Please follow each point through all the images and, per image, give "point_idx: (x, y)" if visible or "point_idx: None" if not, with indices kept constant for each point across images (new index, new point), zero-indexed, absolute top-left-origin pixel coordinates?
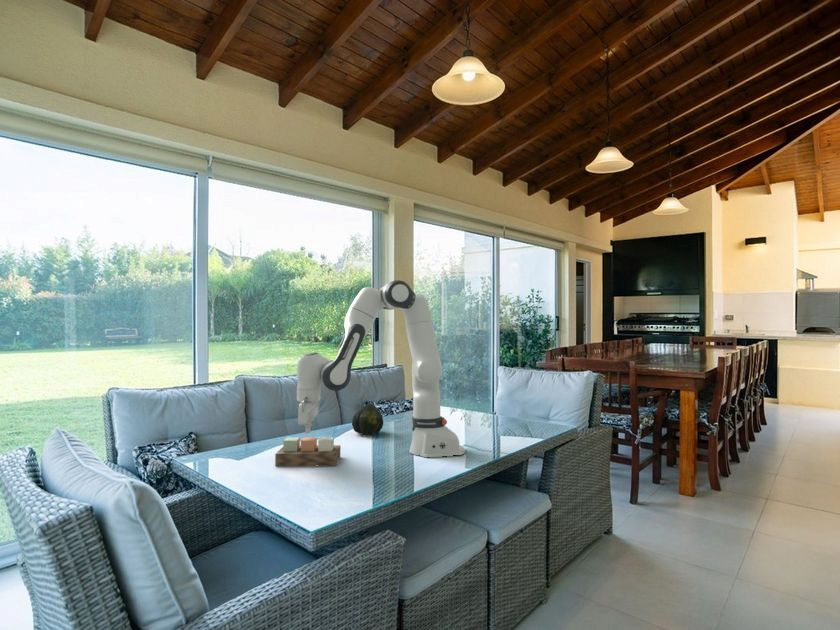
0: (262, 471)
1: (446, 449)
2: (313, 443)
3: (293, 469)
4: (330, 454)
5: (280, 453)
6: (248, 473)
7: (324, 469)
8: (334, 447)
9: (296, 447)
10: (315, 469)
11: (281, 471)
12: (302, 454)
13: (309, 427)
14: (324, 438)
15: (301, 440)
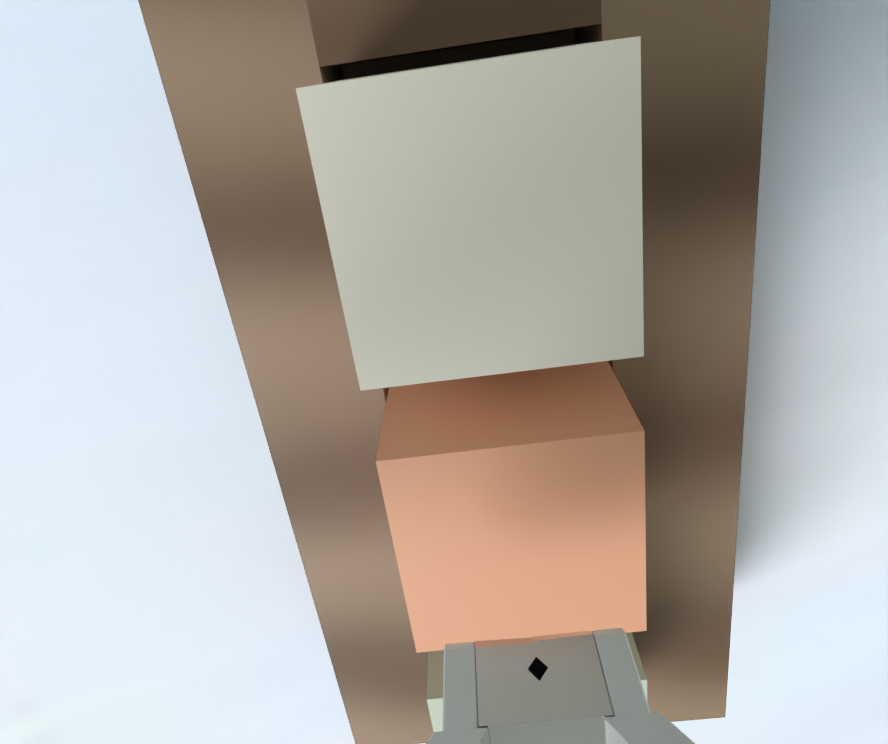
0: (836, 647)
1: None
2: (632, 413)
3: (804, 427)
4: (762, 7)
5: (709, 680)
6: (878, 714)
7: (852, 56)
8: (320, 72)
9: None
10: (836, 183)
11: (861, 509)
12: (735, 450)
13: (688, 742)
14: (459, 281)
15: (646, 622)
